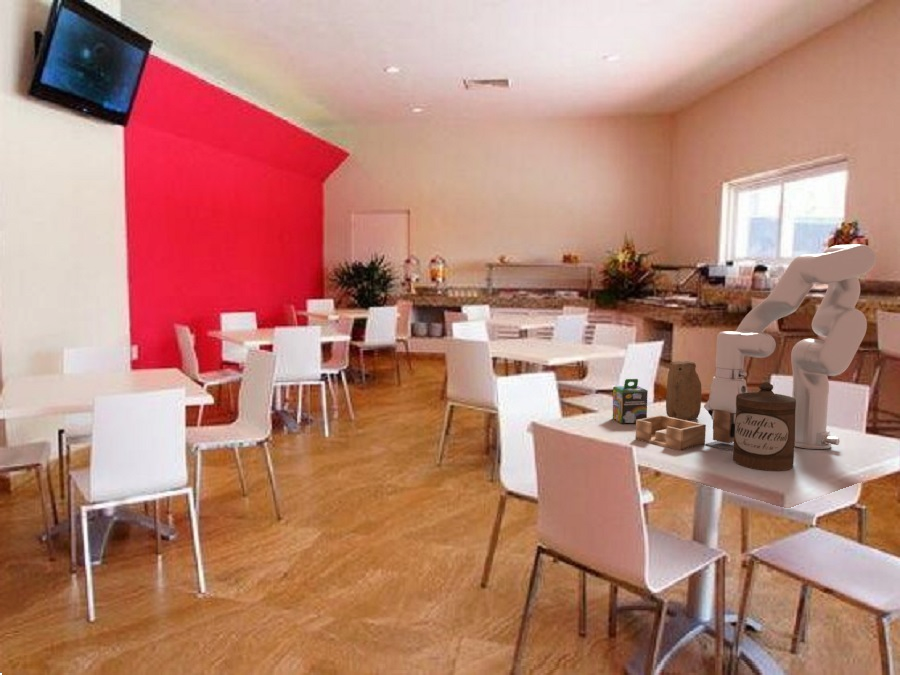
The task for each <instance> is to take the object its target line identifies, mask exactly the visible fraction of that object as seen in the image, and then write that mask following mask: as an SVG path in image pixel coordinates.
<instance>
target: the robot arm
mask: <svg viewBox="0 0 900 675" xmlns="http://www.w3.org/2000/svg"><path fill="white" fill-rule="evenodd" d="M876 263H877V253H876V252H875V250H874V249H873V248H872V247H871V246H869V245H866V244H839V245H833V246H830V247H828V248H827V249H825V250H824V251H823V253H816V254H815V253H812V254H811V253H808V254H800V255H798V256H796V257H795V258H793V260H792V261H791V262H790V264H789V265H788V267H787V268H786V270H785V271H784V273H783V274H782V276H781V277H780V279H779V280H778V282H777V283H776V285H775V286H774V288H773V289H772V290H771V292H770V293H769V295H768V296H767V297H765V298H764V299H763V300H762V301H761V302H760V303H758V304H757V305H756V306H755V307H754V308H752V309H751V310H750V311H749V312H748V313H747V314H746V315H745V317H743V318H742V320H741V322H740V323H739V324H738V327H737V328H736V330H734V331H732V330H731V331H729V330H728V331H725V330H723V331H719V332H718V333H717V336H716V350H715V351H716V353H715V367H714V368H715V371H714V372H715V374H714V376H713V377H712V379H711V380H712V381H711V384H710V388H709V396H708V397H709V398H708V400H707V401H706V402H705V403H704V404H703V408H704V409H705V410H706V411H707V412H708V414H709V416H710V418H711V420H712V428H713V427H714V410H720V411H725V412H730V413H732V419H733V424H732V425H731V437H734V431H735V419H736V396H737V395H738V394H741V393H748V387H747V381H746V379H744V377H747V376H748V374H747V372H746V371H744V370H745V369H744V361H745V360H744V359H745V357H752V358H757V359H760V358H761V359H762V358H767V357H769V356H771V355H772V354H773V353H774V352H775V350H776V346H777V345H776V344H777V343H776V340H775V338H774V337H773V336H772V335H771V334H769V333H766V332H764V331H765V330H766V329H767V328H768V327H769V326H770V325H771V324H773V323H774V322H775V321H778V320H780V319H781V318H784V317H788V316H789V315H792V314H793V313H795V312H797V310H798V309H799V307H800V306H801V305H802V303H803V301H804V300H805V298H806V296H807V295H808V294H809V293H810V291H811V290H812V288H813V286H814V285H827V288H826V291H825V294H824V297H823V298H822V300H821V303H820V304H819V306H818V307H817V310H816V312H815V314H814V316H813V318H812V321H811V328H812V331H813V332H814V333H815V334H816V335H818V336H819V337H822V338H826V339H825V340H823V339H816V338H803V339H802V340H799V341H798V342H797V343H795V344H794V345H793V347H792V350H791V354H790V361H791V368H792V391H791V392H792V394H791V397H793V398H795V399H796V410H795V447H794V448H801V449H808V450H826V449H830V448H831V447H832V445H835V446H839V445H840V437H836V436H831V434H830V432H831V431H830V430H827V423H828V422H827V421H828V409H829V408H828V407H829V406H828V405H829V394H830V384H829V378H828V376H829V377H830V376H831V377H833V376H834V377H836V376H838V375H842V374H843V373H844V372H845V371H846V370H847V369H848V368H849V366H850V365H851V363H852V361H853V359H854V357H855V356H856V353H857V352H858V349H859V348H860V345H861V344H862V341H863V339H864V337H865V335H866V333H867V328H868V322H867V317H866V316H865V314H864V313H863V312H862V311H861V310H860V309H857V308H856V305H857V303H858V301H859V299H860V298H859V297H860V295H861V282H860V280H859V276H863V275H865V274H867V273H869V272H871V271H872V270H873V268H874V267H875V265H876Z"/></svg>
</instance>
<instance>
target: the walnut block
mask: <svg viewBox="0 0 900 675" xmlns="http://www.w3.org/2000/svg"><path fill="white" fill-rule="evenodd" d="M732 424H733V419H732V413H730V412H725V411H720V410H714V427H713V426H712V440H713V441H720V442H725V443H734V437H731V425H732Z"/></svg>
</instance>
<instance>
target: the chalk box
mask: <svg viewBox="0 0 900 675" xmlns="http://www.w3.org/2000/svg"><path fill="white" fill-rule="evenodd" d="M638 382H639V379H638V378H626V379H625V380H624V384H623V385H621V386H619V385H618V386H613V387H612V419H613V418H614V420H615V419H616V420H615V421H616V422H618V421H619V422H618V423H619V424H621V423H636V420H638V419H643V418H648V391H649V390H647V389H645V388H643V387H641V386H639V385H638ZM629 383H633V384H632V385H629Z"/></svg>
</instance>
